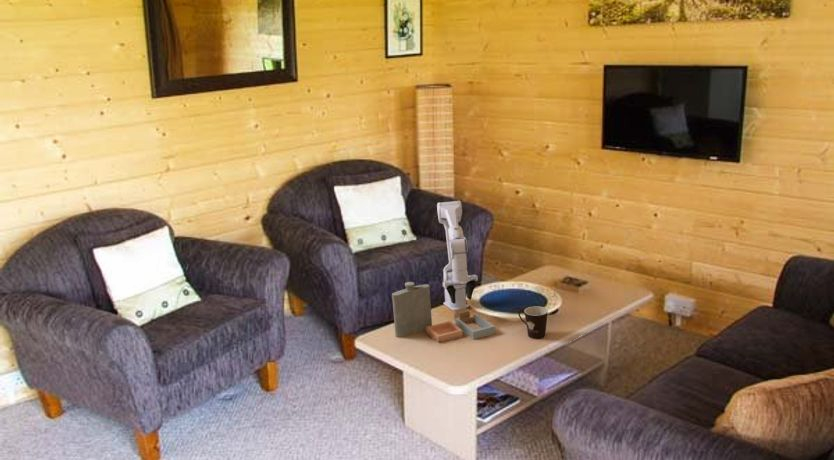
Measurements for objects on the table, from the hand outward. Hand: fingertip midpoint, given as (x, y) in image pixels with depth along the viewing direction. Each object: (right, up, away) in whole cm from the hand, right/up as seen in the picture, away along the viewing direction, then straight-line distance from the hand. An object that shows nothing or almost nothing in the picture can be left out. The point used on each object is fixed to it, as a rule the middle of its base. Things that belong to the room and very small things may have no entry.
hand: (461, 300), depth 303 cm
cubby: (+5, -10, -6) cm, 13 cm away
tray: (-7, -12, -9) cm, 17 cm away
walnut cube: (0, -8, +3) cm, 9 cm away
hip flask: (-19, -12, -4) cm, 23 cm away
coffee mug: (+27, -11, -14) cm, 32 cm away
